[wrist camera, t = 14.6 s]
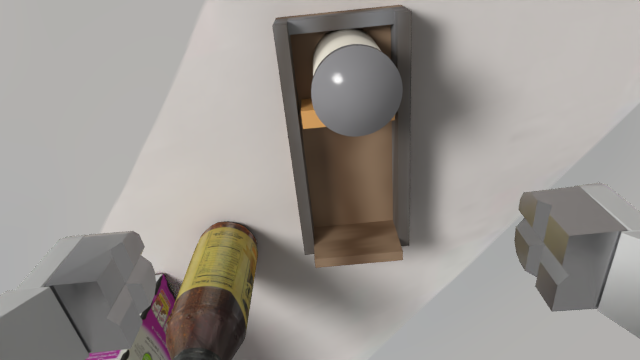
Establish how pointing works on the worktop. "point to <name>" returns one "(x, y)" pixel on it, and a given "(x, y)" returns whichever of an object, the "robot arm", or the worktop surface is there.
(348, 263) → the lane
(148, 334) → the candy bar box
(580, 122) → the worktop surface
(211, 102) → the worktop surface
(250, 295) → the sauce bottle
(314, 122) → the pusher
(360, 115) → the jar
